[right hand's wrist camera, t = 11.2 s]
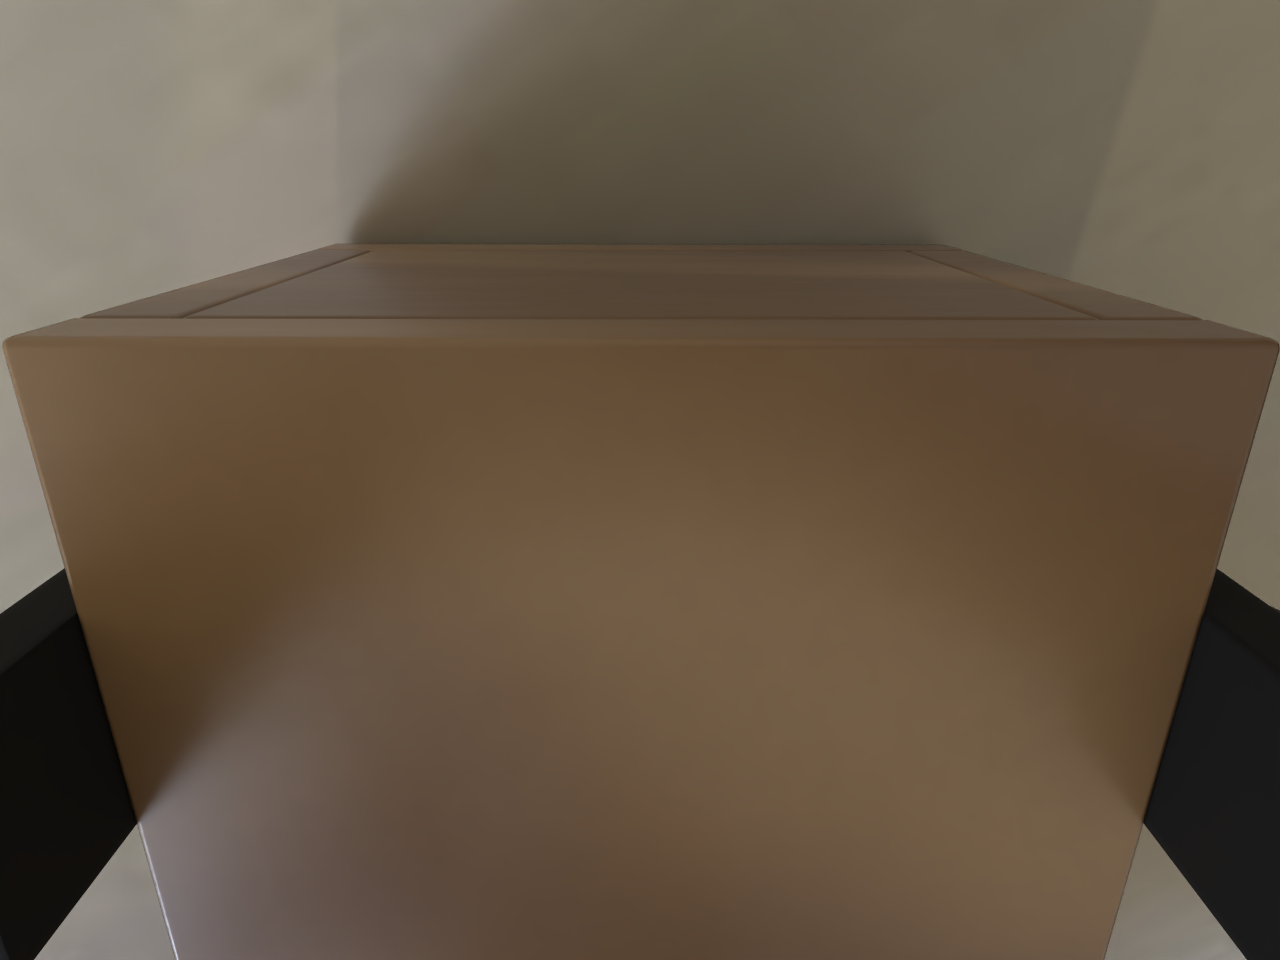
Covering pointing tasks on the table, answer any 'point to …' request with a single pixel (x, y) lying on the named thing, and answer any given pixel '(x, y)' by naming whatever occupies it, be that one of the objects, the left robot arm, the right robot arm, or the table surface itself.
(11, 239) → the table surface
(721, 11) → the table surface
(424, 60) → the table surface
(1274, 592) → the table surface
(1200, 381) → the cabinet
